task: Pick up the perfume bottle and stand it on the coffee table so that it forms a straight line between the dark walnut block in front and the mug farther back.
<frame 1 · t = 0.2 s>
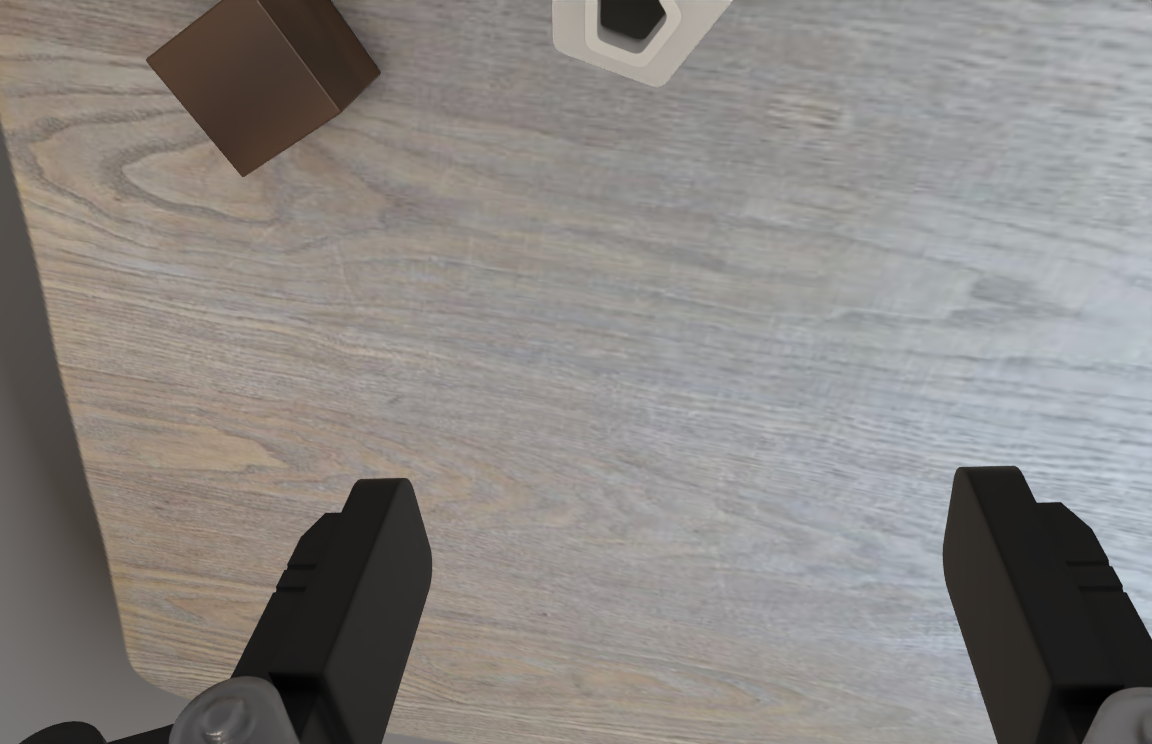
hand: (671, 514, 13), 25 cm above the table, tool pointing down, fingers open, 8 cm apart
walnut block: (295, 49, 35), on the table
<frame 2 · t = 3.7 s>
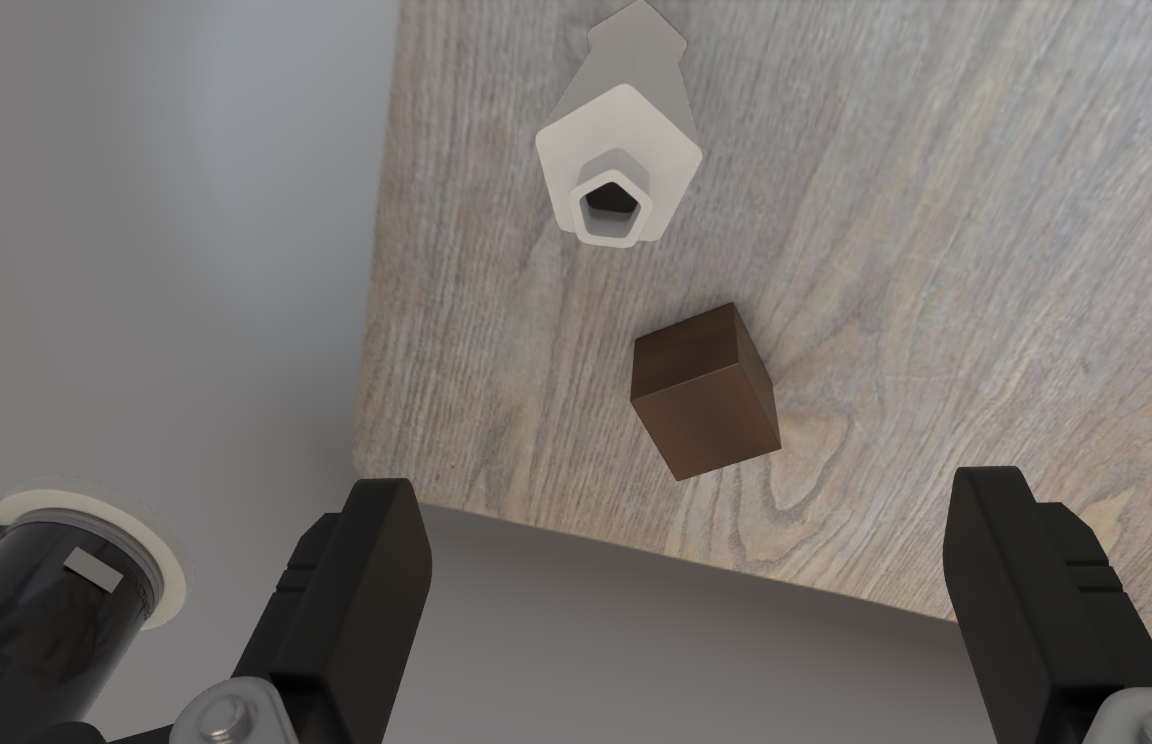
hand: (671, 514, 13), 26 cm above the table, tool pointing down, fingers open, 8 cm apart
walnut block: (704, 361, 42), on the table
perfume bottle: (640, 51, 34), on the table
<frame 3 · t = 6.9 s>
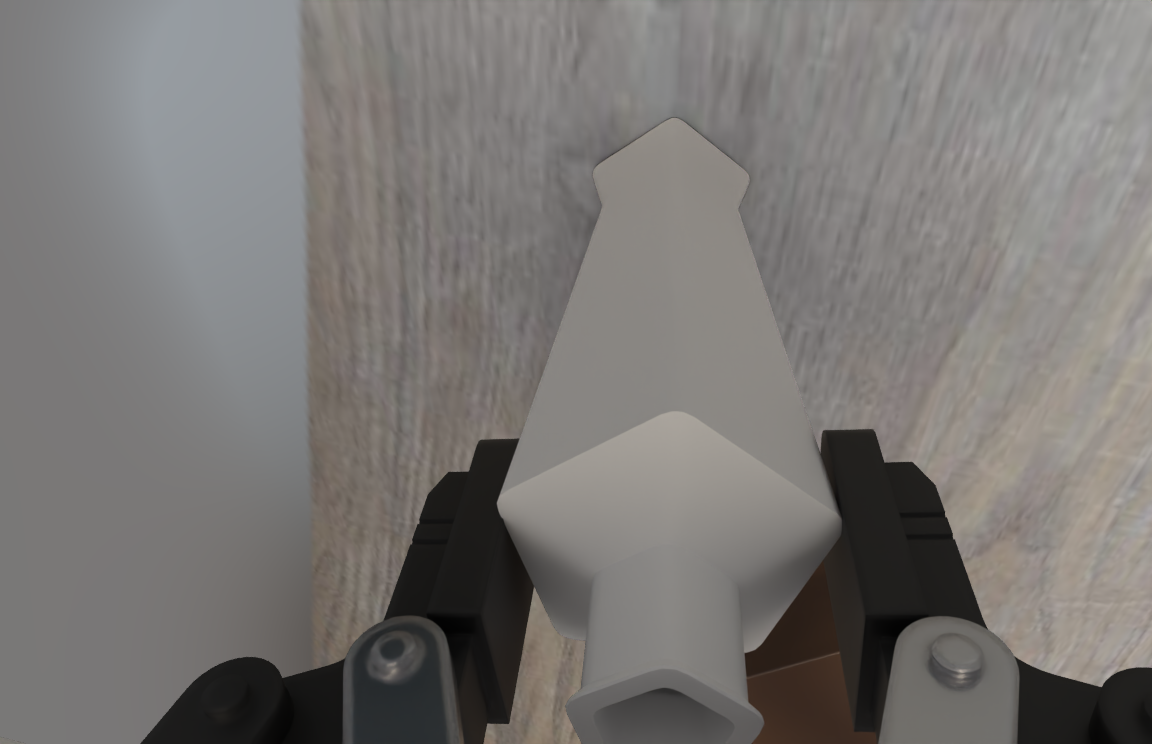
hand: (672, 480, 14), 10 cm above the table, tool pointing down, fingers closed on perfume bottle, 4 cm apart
walnut block: (788, 589, 30), on the table
perfume bottle: (676, 192, 22), on the table, touching gripper
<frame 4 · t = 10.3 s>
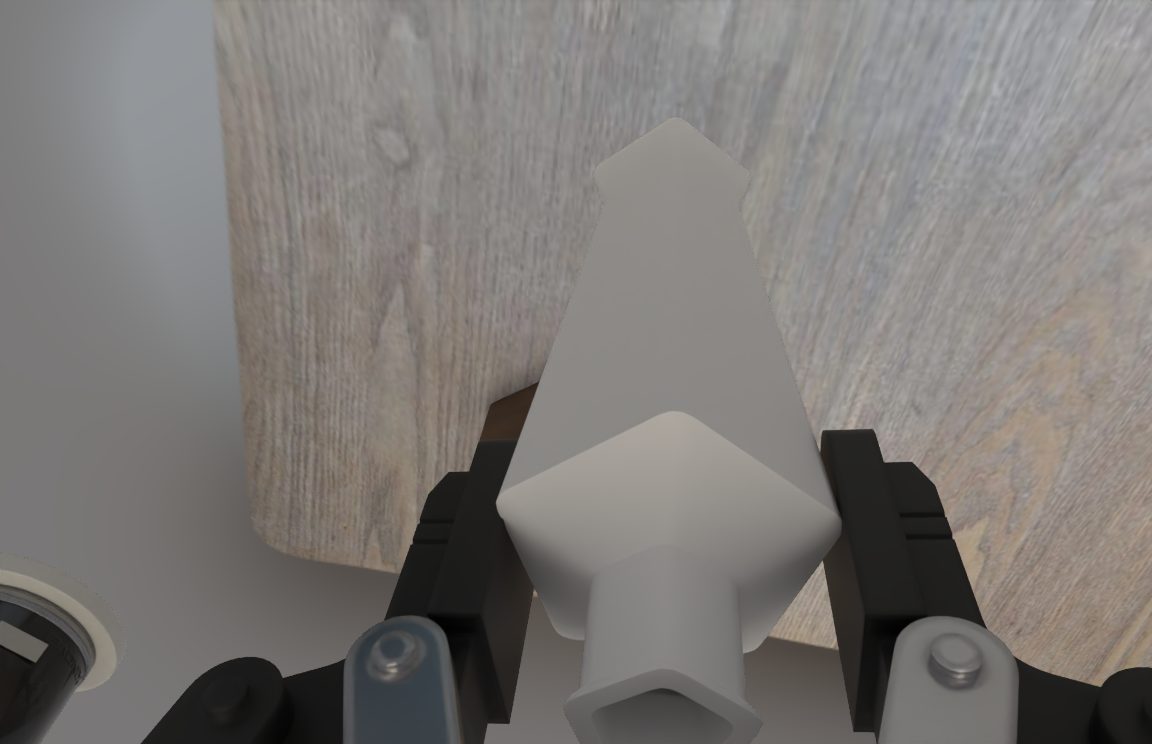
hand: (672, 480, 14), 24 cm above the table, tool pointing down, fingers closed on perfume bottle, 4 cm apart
walnut block: (557, 421, 44), on the table
perfume bottle: (677, 191, 22), point 14 cm above the table, touching gripper
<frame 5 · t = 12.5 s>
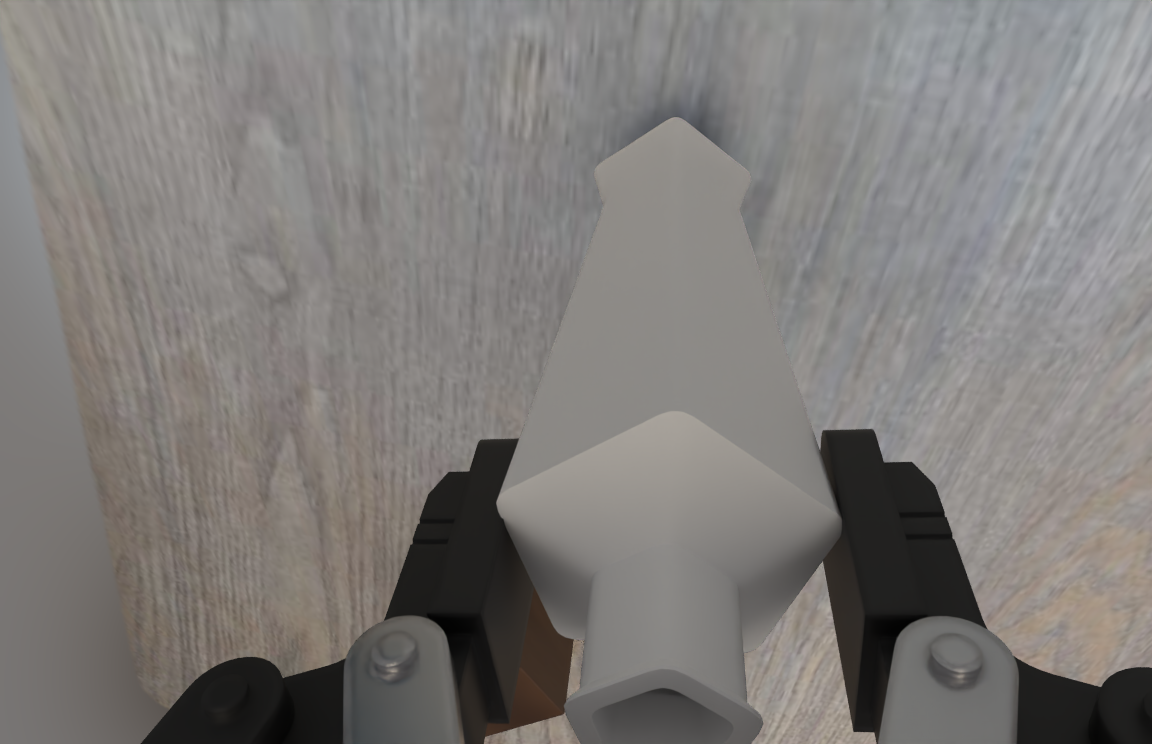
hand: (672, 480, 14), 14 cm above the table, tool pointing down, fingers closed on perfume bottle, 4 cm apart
walnut block: (495, 587, 36), on the table
perfume bottle: (678, 191, 22), point 3 cm above the table, touching gripper
when the fingers open (10 cm above the table, at t = 13.9 s): perfume bottle stays where it is, on the table.
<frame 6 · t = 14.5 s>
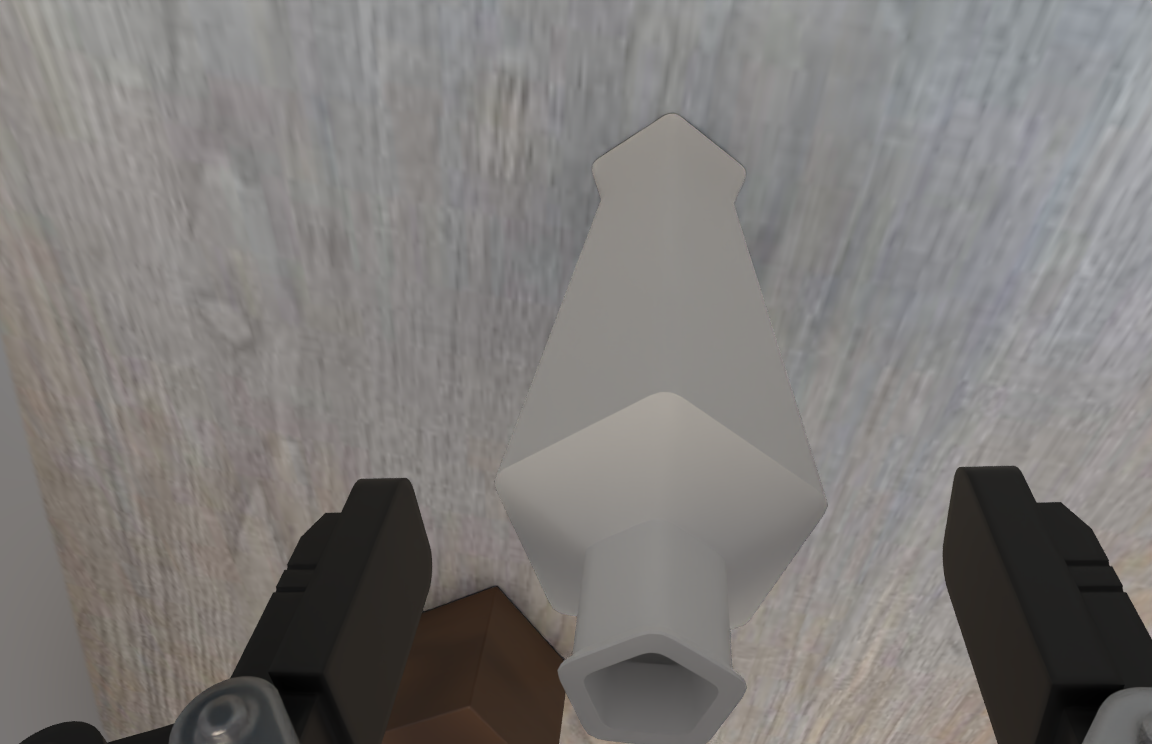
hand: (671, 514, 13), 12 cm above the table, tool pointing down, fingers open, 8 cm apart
walnut block: (480, 645, 34), on the table
perfume bottle: (674, 186, 23), on the table
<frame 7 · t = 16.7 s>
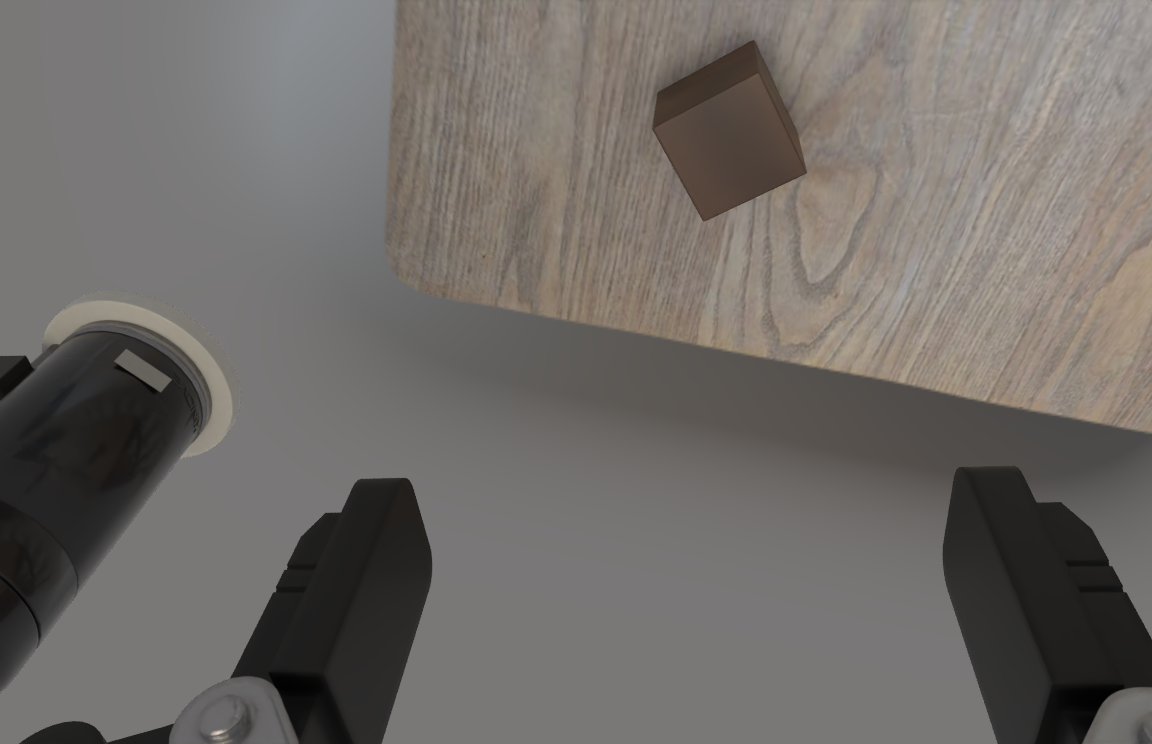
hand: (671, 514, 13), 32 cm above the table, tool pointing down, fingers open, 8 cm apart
walnut block: (727, 113, 42), on the table
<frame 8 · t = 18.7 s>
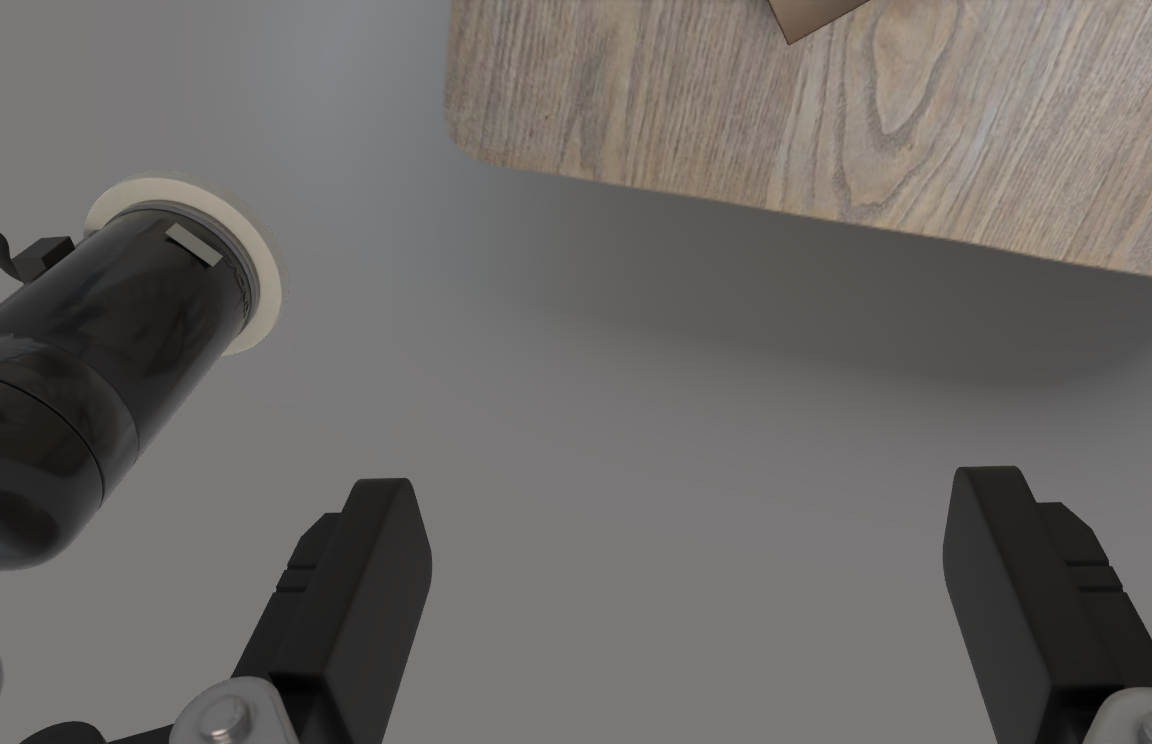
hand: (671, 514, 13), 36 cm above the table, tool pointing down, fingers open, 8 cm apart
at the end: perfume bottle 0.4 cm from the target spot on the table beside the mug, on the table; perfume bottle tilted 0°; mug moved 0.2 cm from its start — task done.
